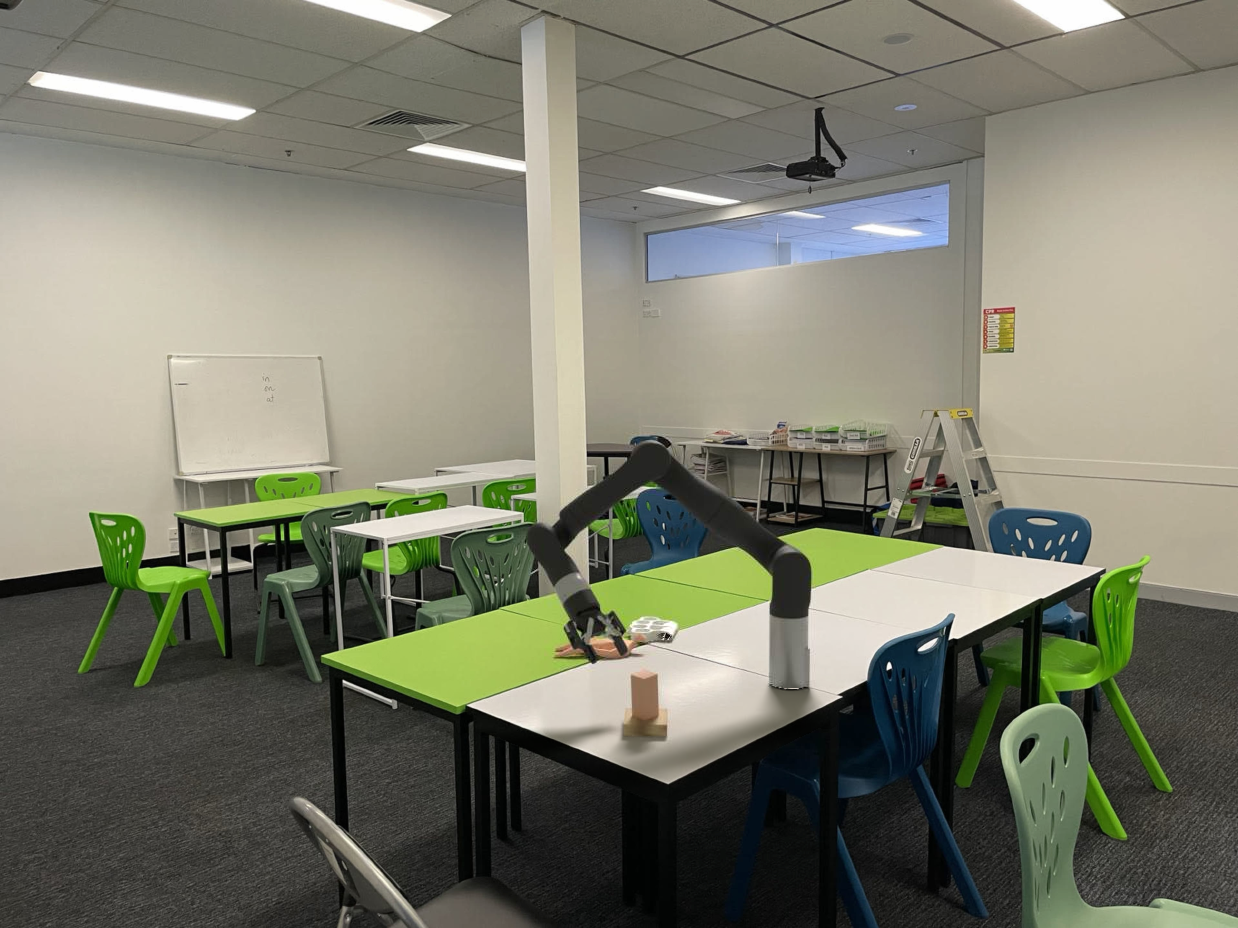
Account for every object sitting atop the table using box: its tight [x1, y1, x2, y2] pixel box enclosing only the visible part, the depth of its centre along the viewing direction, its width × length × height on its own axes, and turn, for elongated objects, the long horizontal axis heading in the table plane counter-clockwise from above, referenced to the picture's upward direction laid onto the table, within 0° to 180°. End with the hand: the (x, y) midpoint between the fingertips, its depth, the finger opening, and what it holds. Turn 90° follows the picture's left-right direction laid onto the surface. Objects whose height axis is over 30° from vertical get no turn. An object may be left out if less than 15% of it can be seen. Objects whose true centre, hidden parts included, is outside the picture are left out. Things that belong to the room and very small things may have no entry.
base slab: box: [622, 707, 668, 738], centre depth 183 cm, size 9×9×3 cm
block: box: [630, 669, 660, 721], centre depth 183 cm, size 4×4×9 cm
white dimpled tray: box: [624, 616, 679, 643], centre depth 253 cm, size 3×18×15 cm
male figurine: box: [554, 634, 646, 659], centre depth 235 cm, size 11×5×25 cm
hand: (610, 657), depth 190 cm, fingers open, 8 cm apart
